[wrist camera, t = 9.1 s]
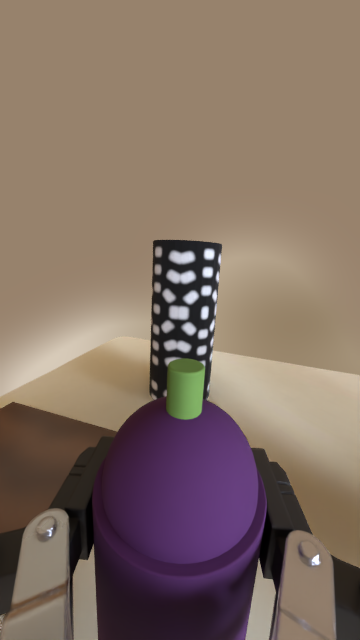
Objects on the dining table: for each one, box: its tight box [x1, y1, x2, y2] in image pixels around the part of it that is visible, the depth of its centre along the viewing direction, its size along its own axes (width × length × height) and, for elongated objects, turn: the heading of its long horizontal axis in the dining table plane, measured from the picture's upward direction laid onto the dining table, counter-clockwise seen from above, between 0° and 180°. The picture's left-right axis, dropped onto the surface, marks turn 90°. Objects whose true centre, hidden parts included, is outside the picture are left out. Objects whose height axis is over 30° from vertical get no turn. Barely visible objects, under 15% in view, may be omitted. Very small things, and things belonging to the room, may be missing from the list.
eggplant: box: [92, 359, 267, 640], centre depth 9 cm, size 6×6×13 cm
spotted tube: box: [150, 240, 222, 400], centre depth 32 cm, size 8×8×20 cm
